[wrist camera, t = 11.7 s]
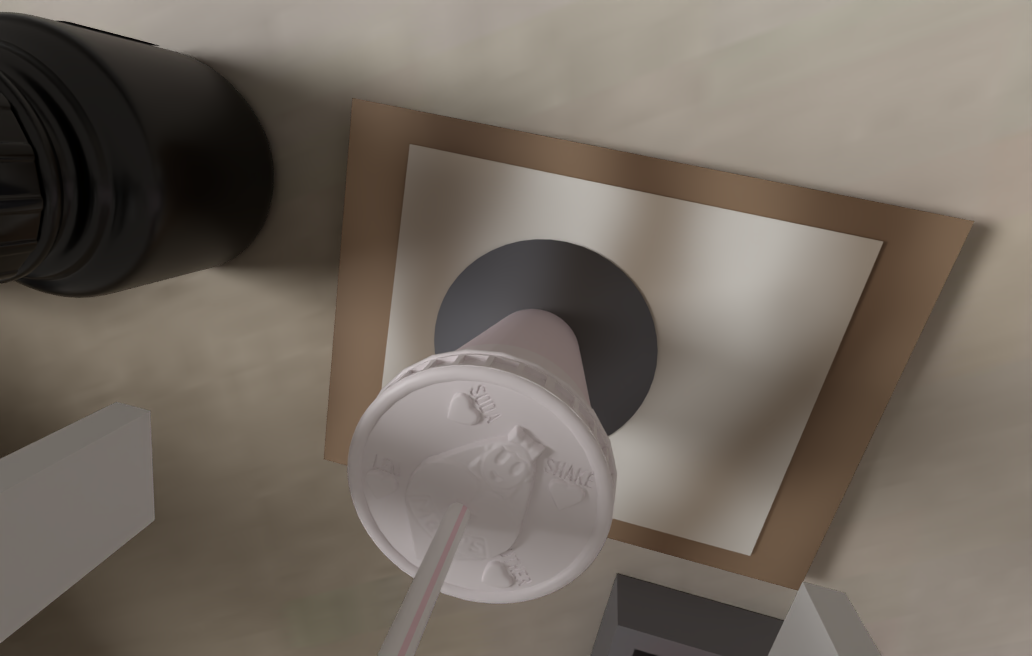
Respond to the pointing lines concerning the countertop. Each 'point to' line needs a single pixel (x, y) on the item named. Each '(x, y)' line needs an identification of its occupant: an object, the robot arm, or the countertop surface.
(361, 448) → the smoothie
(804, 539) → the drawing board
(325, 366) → the countertop surface
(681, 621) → the button housing
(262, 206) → the ink bottle
